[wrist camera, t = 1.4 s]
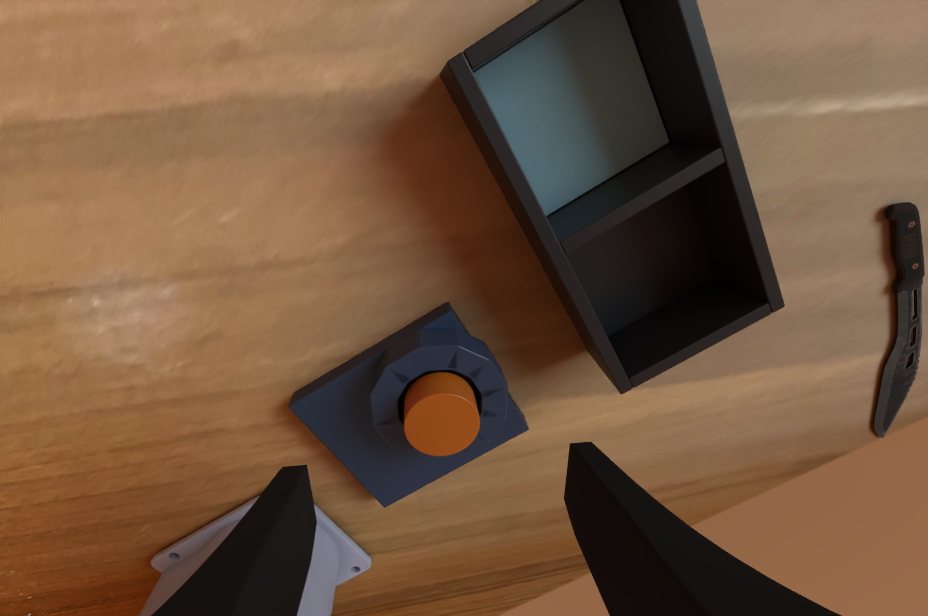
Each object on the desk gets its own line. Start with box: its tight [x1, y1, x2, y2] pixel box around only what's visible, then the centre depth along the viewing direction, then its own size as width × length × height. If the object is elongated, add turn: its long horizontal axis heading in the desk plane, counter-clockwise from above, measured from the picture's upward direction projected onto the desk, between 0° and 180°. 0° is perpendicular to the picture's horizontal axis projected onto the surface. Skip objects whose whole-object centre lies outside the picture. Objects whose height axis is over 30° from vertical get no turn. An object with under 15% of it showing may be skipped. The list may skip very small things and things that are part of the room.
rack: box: [439, 0, 785, 394], centre depth 18 cm, size 8×15×4 cm, turn 30°
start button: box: [404, 372, 480, 456], centre depth 19 cm, size 3×3×2 cm
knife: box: [874, 202, 924, 438], centre depth 25 cm, size 16×1×3 cm
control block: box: [288, 302, 529, 507], centre depth 22 cm, size 10×8×3 cm
